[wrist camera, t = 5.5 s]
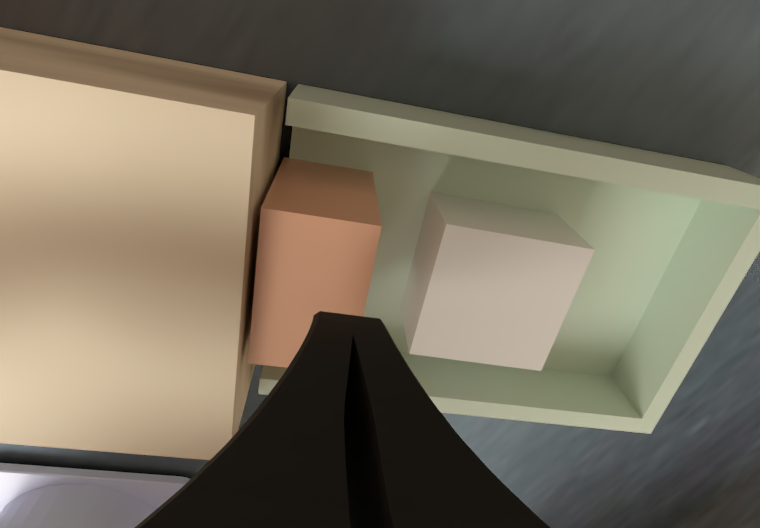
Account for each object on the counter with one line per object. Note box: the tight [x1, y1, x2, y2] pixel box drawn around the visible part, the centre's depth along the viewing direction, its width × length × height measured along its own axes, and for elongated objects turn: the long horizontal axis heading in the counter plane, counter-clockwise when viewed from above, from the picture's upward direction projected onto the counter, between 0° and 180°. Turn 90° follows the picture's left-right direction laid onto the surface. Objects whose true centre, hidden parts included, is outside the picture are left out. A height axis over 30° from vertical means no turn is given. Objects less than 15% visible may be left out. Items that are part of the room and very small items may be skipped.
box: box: [258, 84, 760, 434], centre depth 15 cm, size 9×13×2 cm, turn 79°
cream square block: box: [400, 192, 595, 371], centre depth 14 cm, size 4×4×2 cm
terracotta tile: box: [248, 157, 382, 368], centre depth 13 cm, size 4×4×2 cm
